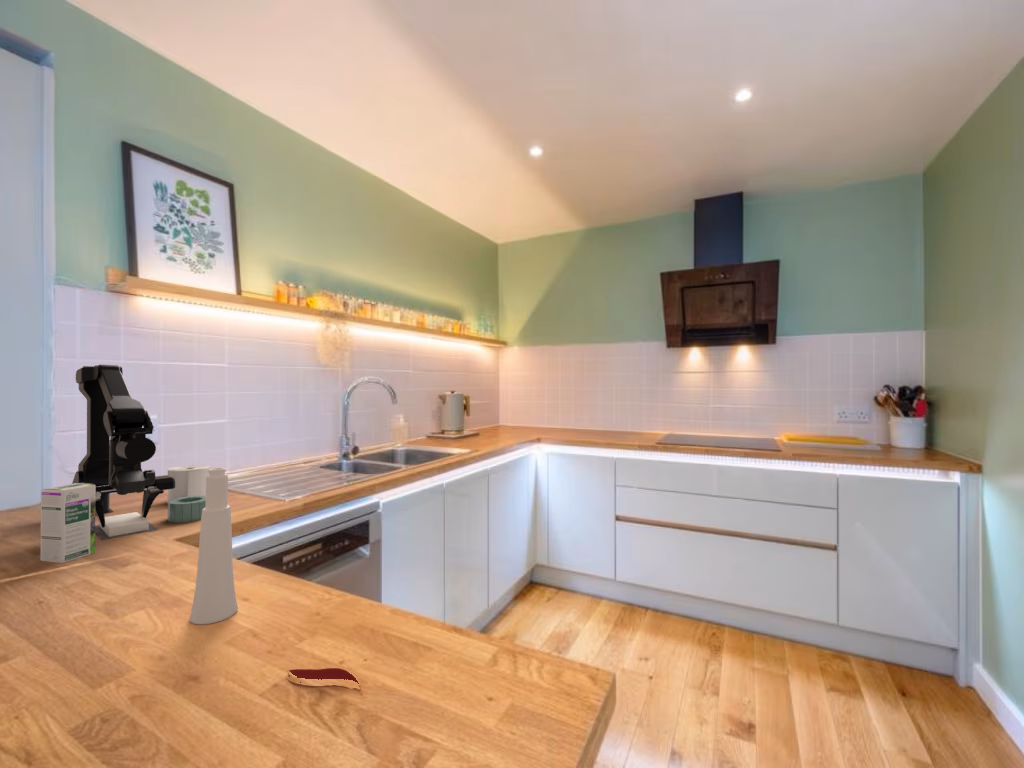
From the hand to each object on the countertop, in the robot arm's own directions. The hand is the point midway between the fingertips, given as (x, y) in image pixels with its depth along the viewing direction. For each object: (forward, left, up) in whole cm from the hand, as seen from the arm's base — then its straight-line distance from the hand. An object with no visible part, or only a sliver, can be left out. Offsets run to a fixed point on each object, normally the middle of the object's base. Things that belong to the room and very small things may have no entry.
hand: (123, 523), depth 106 cm
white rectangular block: (0, 0, -1) cm, 1 cm away
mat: (0, 0, -2) cm, 2 cm away
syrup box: (+15, -11, -2) cm, 19 cm away
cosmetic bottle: (+62, 0, -2) cm, 62 cm away
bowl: (+1, +13, -2) cm, 13 cm away
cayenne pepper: (+89, +3, -2) cm, 89 cm away
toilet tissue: (-21, +19, -2) cm, 28 cm away
